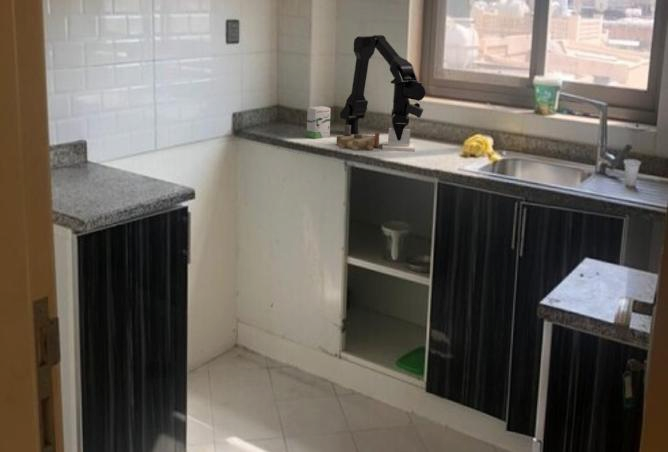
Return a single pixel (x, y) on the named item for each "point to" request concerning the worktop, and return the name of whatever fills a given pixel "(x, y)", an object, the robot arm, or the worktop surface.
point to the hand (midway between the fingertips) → (398, 138)
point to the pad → (398, 147)
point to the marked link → (394, 142)
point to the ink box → (318, 122)
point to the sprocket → (357, 140)
